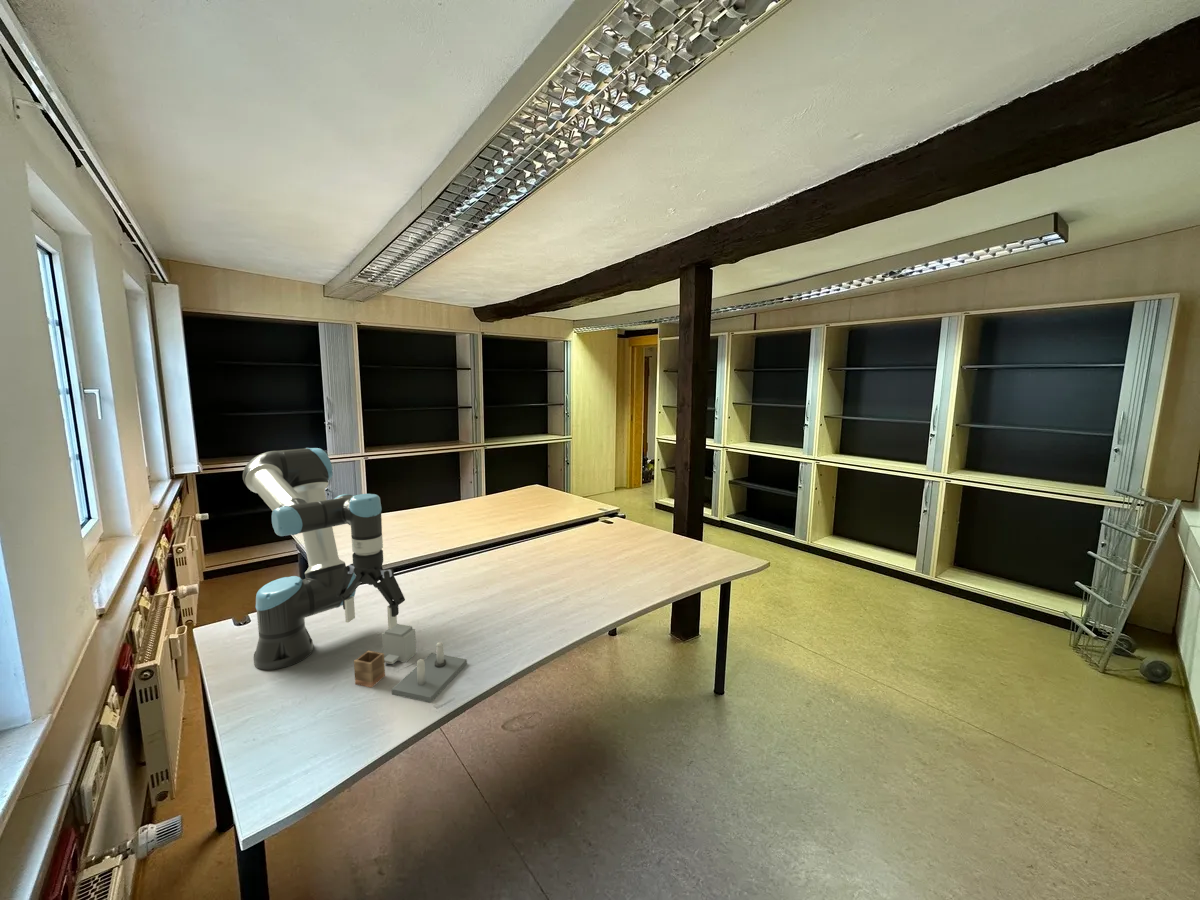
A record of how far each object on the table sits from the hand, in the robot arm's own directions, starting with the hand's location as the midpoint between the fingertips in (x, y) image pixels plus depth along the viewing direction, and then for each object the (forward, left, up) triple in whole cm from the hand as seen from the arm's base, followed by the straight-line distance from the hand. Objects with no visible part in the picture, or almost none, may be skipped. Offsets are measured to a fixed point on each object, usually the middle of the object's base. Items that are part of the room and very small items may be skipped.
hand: (371, 623), depth 130 cm
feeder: (0, +10, -17) cm, 19 cm away
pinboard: (+16, +4, -17) cm, 23 cm away
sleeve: (0, -1, -17) cm, 17 cm away
